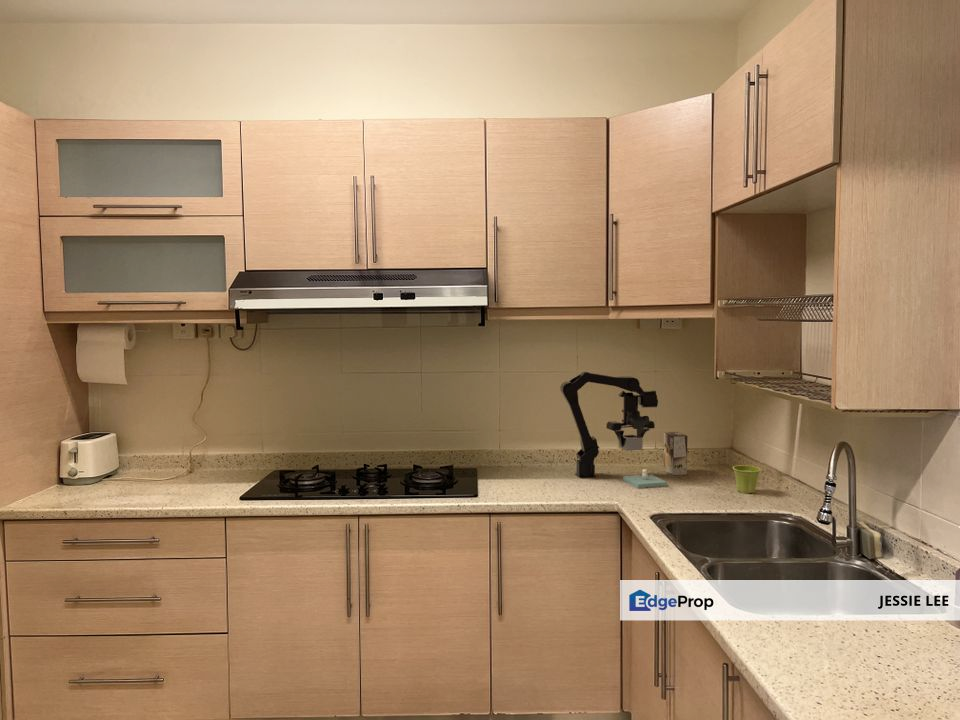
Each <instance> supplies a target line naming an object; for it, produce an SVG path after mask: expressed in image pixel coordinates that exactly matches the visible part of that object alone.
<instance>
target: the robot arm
mask: <svg viewBox="0 0 960 720" xmlns="http://www.w3.org/2000/svg"><path fill="white" fill-rule="evenodd" d="M587 383H592V384H593V383H594V384H599V385H605V386H612V387H616V388H619V389H623V390H621V392H620V393H619V394H617V395H618V396H619V397H620V398H623V406H622V407H623V409H621V412H622V414H623V418H622V419H621V422H619V421H616V420H615V421H613V420H612V421H607V423H606V427H605V428H606V429H607V430H610V431H613V432H614V434H615V435H616V437H617V440H618V443H619V442H620V445H621V447H623V435H624V432H625V430H623V429H624V428H632V429H633V430H636V435H637V436H640V437H643V438H644V436H645V434H646V433H647V432H648V431H650V430H651V429H655V428H656V427H655V421H654V420H651V419H650V416H648V415H643V416H641V412H640V410H639V406H641V408H647V409H648V408H651V409H652V408H654V409H655V408H657V407H658V405H659V399H658V394H657V390H644V389H643V388H642V387H641V386H640V384H641V383H640V380H639V379H638V378H636V377H633V376H630V375H628V376H627V375H625V376H624V375H623V376H621V375H620V376H612V375H605V374H600V373H592V372H588V371H587V370H586V371H581V372H580V373H579V374H578V375H577V376H576V375H575V377H573V378H571V379H570V380H569V381H564V382H562V383H561V385H560V386H559V388H560V389H559V390H560V392H561V394H562V396H563V398H564V399H565V401H566V403H567V404H568V406H569V409H570V412H571V415H572V417H573V419H574V420H573V421H574V423H575V425H576V429H577V432H578V435H579V440H580V450H579V451H577V452H576V457H577V459H578V460H576V472H574V475H575V476H576V477H578V478H580V479H586V478H587V479H588V478H596V466H595V465H596V464H595V462H594V461H595V459H596V458H597V457H598V456H599V454H600V451H599V449H600V446H599V445H598V440H597V438H596V437H595V436H593V435H592V436H591V434H590V432H589V429H588V425H587V423H586V420H585V418H584V414H583V411H582V409H581V407H580V402H579V392H578V391H579V390H581V388H582V387H584V386H585V385H586V384H587ZM626 391H627V392H626ZM634 393H636V394H634Z"/></svg>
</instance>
